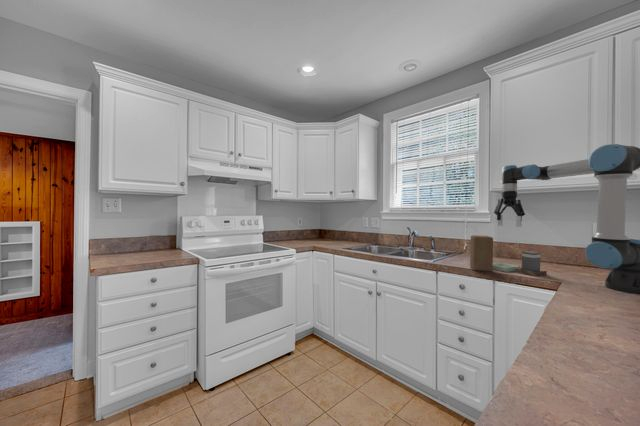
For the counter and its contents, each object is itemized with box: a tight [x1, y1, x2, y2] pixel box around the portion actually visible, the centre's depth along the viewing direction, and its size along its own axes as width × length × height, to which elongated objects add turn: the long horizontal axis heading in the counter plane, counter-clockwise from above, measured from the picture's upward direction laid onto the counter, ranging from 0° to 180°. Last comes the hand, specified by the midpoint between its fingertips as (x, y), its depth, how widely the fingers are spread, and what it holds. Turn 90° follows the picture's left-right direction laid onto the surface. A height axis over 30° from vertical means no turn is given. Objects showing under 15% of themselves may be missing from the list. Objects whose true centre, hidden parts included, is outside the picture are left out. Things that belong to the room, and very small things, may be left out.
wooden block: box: [469, 234, 494, 273], centre depth 166 cm, size 10×10×20 cm
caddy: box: [521, 250, 542, 272], centre depth 158 cm, size 6×6×12 cm
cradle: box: [514, 267, 547, 277], centre depth 158 cm, size 10×10×2 cm
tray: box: [493, 262, 521, 273], centre depth 168 cm, size 12×12×2 cm
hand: (509, 226), depth 168 cm, fingers open, 13 cm apart
